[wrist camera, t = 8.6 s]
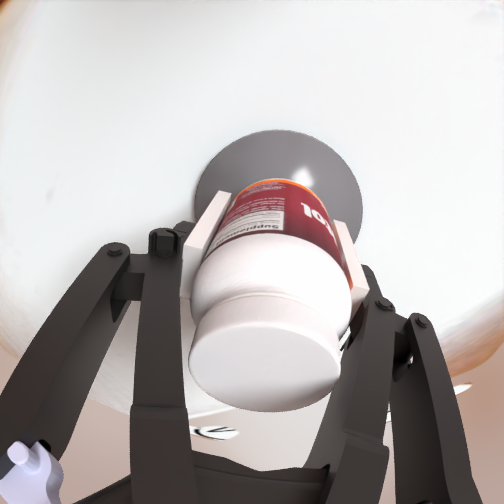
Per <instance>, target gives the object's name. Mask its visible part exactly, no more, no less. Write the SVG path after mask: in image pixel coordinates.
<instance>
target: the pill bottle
mask: <svg viewBox="0 0 504 504" xmlns="http://www.w3.org/2000/svg"><path fill="white" fill-rule="evenodd" d="M351 306H352V301H351V294H350V287H349V284H348V280H347V276H346V272H345V269H344V267H343V263H342V260H341V256H340V253H339V249H338V246H337V243H336V240H335V236H334V233H333V229H332V226H331V223H330V219H329V216H328V213H327V211H326V209H325V207H324V205H323V203H322V202H321V200H320V199H319V198H318V197H317V195H316V194H315V193H314V192H312V191H311V190H310V189H309V188H307V187H306V186H304V185H302V184H300V183H298V182H295V181H292V180H289V179H283V178H272V179H265V180H261V181H258V182H256V183H253V184H251V185H250V186H248V187H246V188H245V189H244V190H242V191H241V192H240V193H239V194H238V195H237V197H236V198H235V199H234V200H233V202H232V203H231V205H230V207H229V208H228V210H227V213H226V215H225V217H224V219H223V221H222V223H221V225H220V227H219V229H218V231H217V233H216V235H215V237H214V239H213V241H212V243H211V245H210V247H209V249H208V251H207V253H206V255H205V257H204V259H203V262H202V264H201V266H200V268H199V269H198V272H197V275H196V277H195V280H194V282H193V286H192V289H191V295H190V308H191V314H192V318H193V321H194V324H195V326H196V331H195V334H194V338H193V341H192V345H191V349H190V353H189V358H188V366H189V370H190V373H191V375H192V377H193V379H194V380H195V382H196V383H197V384H198V386H199V387H200V388H201V389H202V390H204V391H205V392H206V393H207V394H209V395H210V396H212V397H213V398H215V399H217V400H219V401H221V402H223V403H225V404H228V405H230V406H233V407H236V408H240V409H245V410H251V411H258V412H283V411H291V410H296V409H300V408H303V407H306V406H309V405H311V404H313V403H315V402H317V401H319V400H321V399H322V398H324V397H325V396H326V395H328V394H329V393H330V392H331V391H332V390H333V388H334V387H335V385H336V384H337V382H338V379H339V376H340V371H341V364H340V353H339V341H340V339H341V338H342V337H343V335H344V333H345V331H346V329H347V327H348V324H349V321H350V316H351Z"/></svg>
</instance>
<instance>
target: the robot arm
mask: <svg viewBox="0 0 504 504" xmlns="http://www.w3.org/2000/svg"><path fill="white" fill-rule="evenodd" d="M230 198H231V193H228V192H223V191H218V193H217V194H216V196H215V197H214V199H213V200H212V202H211V203H210V205H209V206H208V208H207V209H206V211H205V212H204V214H203V215H202V217H201V218H200V220H199V221H198V223H197V224H195V223H191V222H186V221H182V222H180V223H178V224H176V226H175V227H174V228H173V229H170V228H158V229H154V230H153V231H151V232H150V234H149V246H148V254H130V249H129V247H128V246H127V245H125V244H123V243H117V242H114V243H108V244H106V245H104V246H103V247H101V249H100V250H99V251H98V252H97V253H96V255H95V256H94V257H93V258H92V259H91V261H90V262H89V263H88V264H87V266H86V267H85V268H84V269H83V271H82V272H81V273H80V274H79V276H78V277H77V278H76V280H75V281H74V282H73V283H72V285H71V286H70V287H69V289H68V290H67V291H66V293H65V294H64V295H63V297H62V298H61V300H60V301H59V302H58V304H57V305H56V306H55V308H54V309H53V311H52V312H51V314H50V315H49V316H48V318H47V319H46V321H45V322H44V324H43V325H42V327H41V328H40V330H39V331H38V333H37V334H36V336H35V337H34V339H33V340H32V342H31V343H30V345H29V347H28V348H27V350H26V351H25V353H24V355H23V356H22V358H21V360H20V361H19V363H18V365H17V366H16V368H15V370H14V372H13V373H12V375H11V377H10V379H9V381H8V382H7V384H6V386H5V388H4V390H3V391H2V393H1V395H0V494H1V496H2V497H3V498H4V499H5V500H6V501H7V502H8V504H61V502H60V498H59V489H60V487H61V484H62V482H63V475H64V474H63V470H62V467H61V465H60V463H59V462H58V461H59V460H60V458H61V456H62V455H63V453H64V451H65V450H66V447H67V445H68V443H69V441H70V438H71V436H72V433H73V431H74V428H75V425H76V422H77V420H78V418H79V415H80V412H81V410H82V407H83V405H84V402H85V400H86V398H87V395H88V393H89V390H90V388H91V386H92V383H93V381H94V379H95V377H96V374H97V372H98V370H99V367H100V365H101V363H102V361H103V359H104V356H105V354H106V352H107V350H108V348H109V346H110V344H111V342H112V339H113V337H114V335H115V333H116V331H117V329H118V327H119V325H120V323H121V321H122V319H123V317H124V315H125V313H126V311H127V309H128V307H129V305H130V303H131V301H141V306H140V315H139V324H138V334H137V345H136V357H135V372H134V393H133V404H132V406H131V409H130V469H131V474H130V475H128V476H126V477H125V478H123V479H121V480H119V481H117V482H115V483H113V484H112V485H110V486H108V487H106V488H104V489H102V490H100V491H98V492H96V493H94V494H92V495H90V496H88V497H86V498H84V499H82V500H79V501H77V502H75V503H73V504H378V503H379V500H380V495H381V492H382V488H383V483H384V479H385V474H386V470H387V465H388V460H389V448H388V447H387V446H384V445H383V436H384V430H385V424H386V418H387V411H388V404H389V403H390V412H391V422H392V432H393V446H394V463H395V495H396V504H483V503H482V500H481V498H480V495H479V493H478V490H477V488H476V485H475V483H474V480H473V478H472V473H471V467H470V460H469V454H468V448H467V443H466V438H465V433H464V428H463V424H462V420H461V415H460V411H459V407H458V403H457V400H456V396H455V392H454V389H453V385H452V382H451V378H450V375H449V372H448V369H447V365H446V362H445V359H444V356H443V353H442V350H441V347H440V345H439V342H438V339H437V336H436V334H435V331H434V328H433V326H432V324H431V322H430V321H429V320H428V318H427V317H426V316H424V315H422V314H419V313H412V314H411V315H410V317H409V318H408V319H407V318H404V317H402V316H400V315H398V314H396V313H395V307H394V305H393V304H392V303H391V302H390V301H389V300H388V299H386V298H384V297H383V296H382V294H381V291H380V288H379V286H378V284H377V280H376V278H375V275H374V273H373V271H372V270H371V269H370V268H369V267H368V266H366V265H362V264H361V263H360V261H359V258H358V255H357V252H356V250H355V247H354V244H353V242H352V239H351V237H350V234H349V232H348V229H347V226H346V224H345V223H344V222H341V221H337V220H334V219H333V222H332V225H331V226H332V229H333V233H334V236H335V240H336V243H337V246H338V249H339V253H340V256H341V260H342V263H343V267H344V269H345V272H346V276H347V280H348V284H349V287H350V294H351V301H352V306H351V316H350V321H349V324H348V327H349V326H350V331H351V333H350V335H349V336H348V338H347V340H346V341H345V343H344V344H343V346H342V348H341V349H340V351H342V350H343V349H344V351H343V355H342V358H341V362H340V364H341V371H340V376H339V379H338V382H337V384H336V385H335V387H334V388H333V390H332V392H331V396H330V399H329V402H328V405H327V408H326V411H325V414H324V417H323V420H322V422H321V425H320V428H319V431H318V434H317V436H316V439H315V442H314V445H313V447H312V450H311V452H310V455H309V457H308V460H307V461H306V463H305V464H304V466H303V467H302V468H297V467H296V468H295V467H294V468H288V469H280V470H272V471H256V470H254V469H251V468H249V467H246V466H244V465H241V464H239V463H236V462H234V461H232V460H229V459H227V458H224V457H219V456H215V455H210V454H205V453H201V452H197V451H193V450H192V449H191V439H190V430H189V421H188V413H187V408H186V405H185V396H184V382H183V367H182V349H181V324H180V297H182V298H185V299H189V300H190V295H191V289H192V286H193V282H194V280H195V277H196V275H197V272H198V269H199V268H200V266H201V264H202V262H203V259H204V257H205V255H206V253H207V251H208V249H209V247H210V245H211V243H212V241H213V239H214V237H215V235H216V233H217V231H218V229H219V227H220V225H221V223H222V221H223V219H224V217H225V215H226V213H227V210H228V208H229V203H230ZM348 327H347V329H348ZM347 329H346V331H347ZM346 331H345V332H346ZM344 334H345V333H344ZM412 356H413V362H412V364H411V361H410V359H411V358H412Z"/></svg>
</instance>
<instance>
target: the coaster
mask: <svg viewBox="0 0 504 504" xmlns="http://www.w3.org/2000/svg"><path fill="white" fill-rule="evenodd" d="M272 178H283V179H289V180H292V181H295V182H298V183H300V184H302V185H304V186H306V187H307V188H309V189H310V190H311V191H312V192H314V193H315V194H316V195H317V197H318V198H319V199H320V200H321V202H322V203H323V205H324V207H325V209H326V211H327V213H328V216H329V219H330V223H331V225H332V222H333V219H334V220H337V221H341V222H344V223H345V224H346V226H347V229H348V232H349V234H350V237H351V239H352V242H353V244H354V243H355V241H356V239H357V237H358V234H359V231H360V228H361V222H362V213H363V206H362V197H361V193H360V189H359V186H358V183H357V181H356V178H355V176H354V175H353V173H352V171H351V170H350V168H349V167H348V165H347V164H346V163H345V162H344V160H343V159H342V158H341V157H340V156H339V155H338V154H337V153H336V152H335V151H334V150H333V149H332V148H330V147H329V146H328V145H326V144H325V143H323V142H322V141H320V140H318V139H316V138H314V137H312V136H309V135H306V134H303V133H300V132H295V131H290V130H265V131H260V132H256V133H252V134H249V135H247V136H244V137H242V138H240V139H238V140H236V141H234V142H232V143H231V144H230V145H228V146H227V147H225V148H224V149H223V150H222V151H221V152H220V153H219V154H218V155H217V156H216V157H215V158H214V159H213V160H212V161H211V162H210V164H209V165H208V166H207V168H206V170H205V171H204V173H203V175H202V177H201V179H200V182H199V185H198V188H197V192H196V197H195V218H196V222H197V223H198V221H199V220H200V218H201V217H202V215H203V214H204V212H205V211H206V209H207V208H208V206H209V205H210V203H211V202H212V200H213V199H214V197H215V196H216V194H217V193H218V191H223V192H228V193H231V198H230V203H229V207H230V205H231V203H232V202H233V200H234V199H235V198H236V197H237V195H238V194H239V193H240V192H241V191H242V190H244V189H245V188H246V187H248V186H250V185H251V184H253V183H256V182H258V181H261V180H265V179H272Z"/></svg>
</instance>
